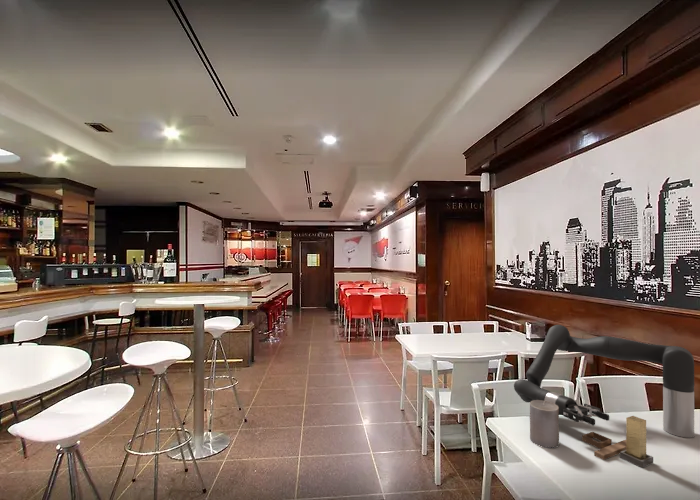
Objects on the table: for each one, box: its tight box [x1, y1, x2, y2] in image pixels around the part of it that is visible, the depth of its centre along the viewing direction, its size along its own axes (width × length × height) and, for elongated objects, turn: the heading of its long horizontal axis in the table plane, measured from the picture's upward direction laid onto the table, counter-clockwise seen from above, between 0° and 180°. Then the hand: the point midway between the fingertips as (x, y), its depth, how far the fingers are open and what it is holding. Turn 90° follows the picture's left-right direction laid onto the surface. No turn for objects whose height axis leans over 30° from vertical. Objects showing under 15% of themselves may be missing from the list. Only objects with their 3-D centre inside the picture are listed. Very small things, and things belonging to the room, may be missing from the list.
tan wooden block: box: [625, 415, 647, 460], centre depth 126 cm, size 4×4×14 cm
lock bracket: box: [581, 431, 654, 469], centre depth 132 cm, size 20×20×2 cm
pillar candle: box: [529, 400, 560, 449], centre depth 138 cm, size 10×10×15 cm
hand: (601, 420), depth 136 cm, fingers open, 8 cm apart
